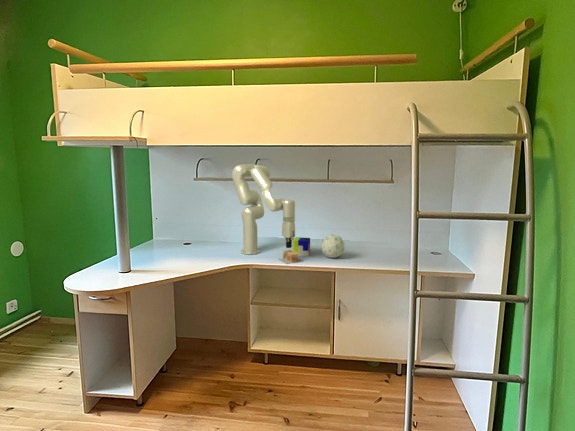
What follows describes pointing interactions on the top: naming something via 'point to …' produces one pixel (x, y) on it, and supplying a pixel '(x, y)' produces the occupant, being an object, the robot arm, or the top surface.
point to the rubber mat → (290, 262)
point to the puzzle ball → (332, 246)
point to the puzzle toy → (301, 246)
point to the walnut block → (290, 256)
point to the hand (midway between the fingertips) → (288, 247)
